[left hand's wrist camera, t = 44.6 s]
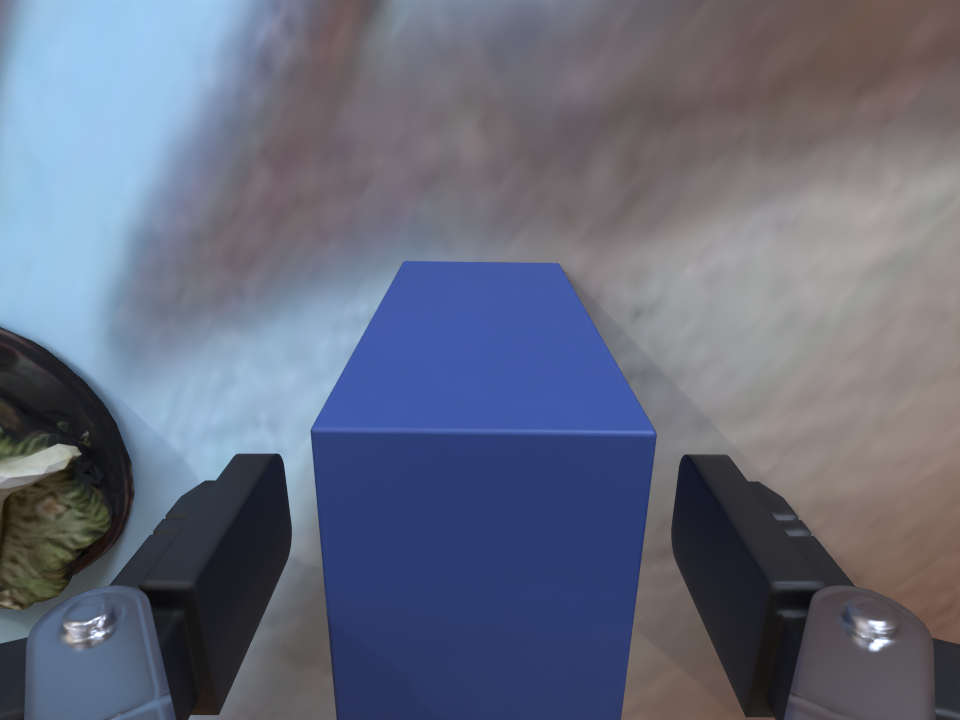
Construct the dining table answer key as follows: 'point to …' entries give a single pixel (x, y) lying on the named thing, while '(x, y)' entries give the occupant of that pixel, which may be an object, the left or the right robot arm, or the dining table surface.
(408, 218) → the dining table surface
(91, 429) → the figurine
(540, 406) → the brick
